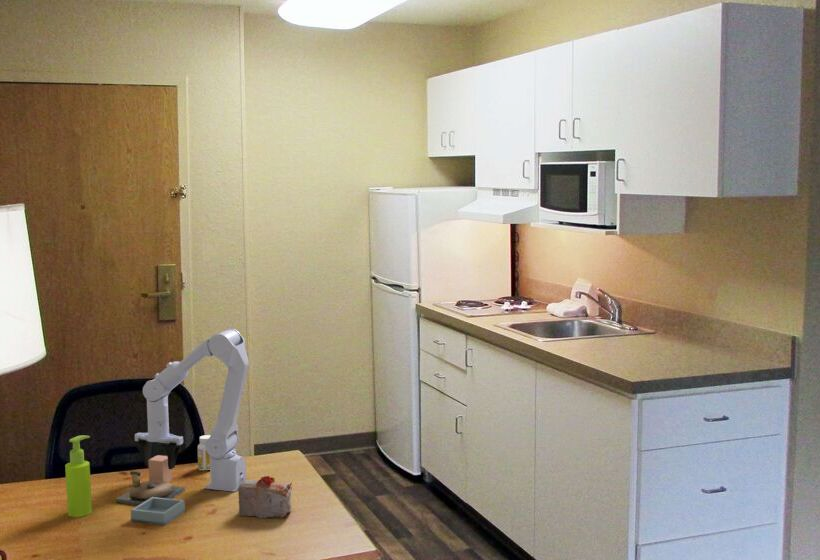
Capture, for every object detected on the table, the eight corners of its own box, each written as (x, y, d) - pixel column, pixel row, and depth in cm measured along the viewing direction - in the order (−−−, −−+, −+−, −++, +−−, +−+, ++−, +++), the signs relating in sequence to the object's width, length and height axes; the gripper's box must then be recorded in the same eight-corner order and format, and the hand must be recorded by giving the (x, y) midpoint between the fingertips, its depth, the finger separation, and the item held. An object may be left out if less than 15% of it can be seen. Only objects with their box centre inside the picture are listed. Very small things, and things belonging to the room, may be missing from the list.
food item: (296, 509, 234) (295, 473, 233) (287, 521, 226) (286, 483, 225) (245, 507, 236) (244, 471, 235) (235, 519, 228) (234, 481, 227)
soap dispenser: (99, 509, 235) (96, 435, 233) (80, 518, 229) (75, 442, 226) (82, 506, 237) (79, 432, 235) (62, 515, 231) (58, 439, 229)
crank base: (184, 490, 248) (184, 486, 248) (158, 507, 236) (158, 503, 236) (144, 486, 252) (143, 482, 252) (116, 502, 240) (115, 498, 240)
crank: (179, 486, 247) (178, 468, 247) (157, 500, 237) (156, 481, 236) (142, 483, 251) (141, 465, 250) (119, 496, 240) (118, 477, 240)
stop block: (172, 480, 257) (171, 456, 256) (163, 485, 253) (162, 461, 252) (158, 478, 258) (157, 455, 258) (149, 483, 254) (148, 459, 253)
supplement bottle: (219, 465, 269) (218, 434, 268) (213, 471, 264) (212, 439, 263) (201, 465, 270) (200, 434, 269) (195, 471, 264) (194, 439, 263)
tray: (185, 511, 233) (184, 500, 233) (164, 525, 224) (164, 513, 223) (152, 507, 236) (152, 496, 235) (131, 521, 227) (130, 509, 226)
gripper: (127, 422, 252) (129, 469, 253) (172, 426, 248) (174, 473, 249) (142, 415, 259) (143, 461, 260) (186, 419, 254) (188, 465, 256)
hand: (159, 467), depth 255 cm, fingers open, 7 cm apart
